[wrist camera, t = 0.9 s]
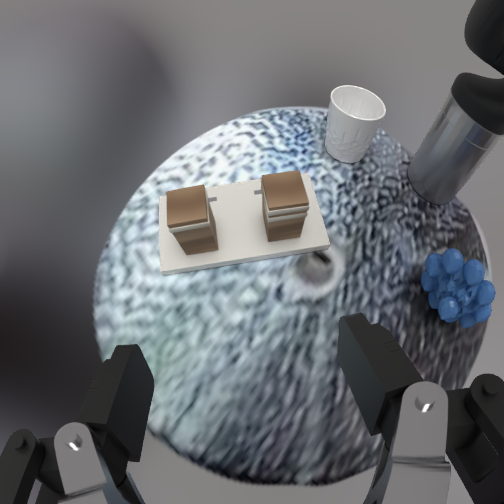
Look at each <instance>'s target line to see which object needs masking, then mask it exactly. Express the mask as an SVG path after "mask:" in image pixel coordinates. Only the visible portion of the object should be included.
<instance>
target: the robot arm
mask: <svg viewBox="0 0 504 504" xmlns="http://www.w3.org/2000/svg"><path fill="white" fill-rule="evenodd" d="M465 41H466V44H467V45H468V47H469V48H470V50H471V51H472V52H473V53H474V54H476V55H477V56H478V57H479V58H480V59H482V60H483V61H485V62H486V63H487V64H489V65H490V66H492V67H493V68H494V69H496V70H497V71H499V72H500V73H501V74H503V75H504V0H476V2H475V3H474V5H473V7H472V8H471V11H470V13H469V15H468V18H467V21H466V24H465ZM503 136H504V78H502V79H492V78H486V77H482V76H479V75H476V74H472V73H461V74H459V75H458V76H457V78H456V79H455V81H454V83H453V85H452V87H451V89H450V91H449V93H448V96H447V97H446V99H445V101H444V103H443V105H442V107H441V110H440V111H439V113H438V115H437V117H436V119H435V121H434V122H433V124H432V126H431V128H430V130H429V131H428V133H427V135H426V137H425V139H424V140H423V142H422V144H421V146H420V147H419V149H418V151H417V152H416V154H415V156H414V157H413V159H412V161H411V162H410V164H409V166H408V178H409V181H410V183H411V185H412V186H413V188H414V189H415V191H416V192H417V193H418V194H419V195H420V196H421V197H423V198H424V199H425V200H427V201H429V202H431V203H433V204H437V205H443V204H446V203H448V202H449V201H450V200H451V199H452V198H453V197H454V196H455V195H456V194H457V192H458V191H459V190H460V189H461V188H462V187H463V186H464V185H465V183H466V182H467V181H468V180H469V179H470V178H471V176H472V175H473V174H474V173H475V172H476V170H477V169H478V168H479V167H480V165H481V164H482V163H483V162H484V161H485V159H486V158H487V157H488V155H489V154H490V153H491V152H492V151H493V149H494V148H495V147H496V145H497V144H498V143H499V141H500V140H501V138H502V137H503ZM338 359H339V363H340V366H341V368H342V370H343V373H344V375H345V377H346V379H347V382H348V384H349V386H350V388H351V391H352V393H353V395H354V398H355V400H356V402H357V405H358V407H359V409H360V412H361V414H362V416H363V419H364V421H365V423H366V426H367V428H368V430H369V433H370V435H371V436H373V435H376V434H379V433H382V436H383V438H384V442H383V445H382V449H381V453H380V457H379V460H378V464H377V467H376V471H375V474H374V477H373V481H372V484H371V487H370V490H369V492H368V495H367V497H366V499H365V501H364V503H363V504H446V500H447V495H448V490H449V484H450V476H451V465H450V463H449V462H446V461H445V453H446V454H447V456H448V458H449V459H450V461H451V463H452V464H453V466H454V468H455V470H456V471H457V473H458V475H459V477H460V478H461V480H462V482H463V484H464V486H465V488H466V489H467V491H468V493H469V495H470V497H471V498H472V500H473V502H474V504H504V381H503V380H502V379H501V378H499V377H498V376H496V375H493V374H482V375H479V376H477V377H476V378H475V379H474V380H473V382H472V384H471V386H470V388H464V389H457V390H450V391H444V389H443V388H442V387H440V386H439V385H437V384H435V383H432V382H425V381H424V380H423V379H422V377H421V376H420V374H419V373H418V371H417V370H416V368H415V367H414V365H413V364H412V362H411V361H410V360H409V358H408V357H407V355H406V354H405V352H404V351H402V348H401V347H400V345H399V344H398V343H396V340H395V338H394V337H393V336H392V334H391V333H390V331H389V330H387V329H386V328H384V327H382V326H381V325H379V324H378V323H377V324H373V325H370V323H369V322H368V320H367V319H366V317H365V316H364V315H363V314H362V313H357V314H352V315H348V316H343V317H341V318H340V320H339V336H338ZM153 392H154V379H153V375H152V373H151V370H150V368H149V366H148V364H147V362H146V360H145V358H144V356H143V353H142V351H141V349H140V347H139V346H138V345H137V344H131V345H117V346H116V348H115V350H114V352H113V354H112V356H111V359H106V360H105V361H104V363H103V364H102V365H101V366H100V367H99V368H98V369H97V371H96V374H95V376H94V378H93V382H92V383H91V385H90V390H89V391H88V392H87V395H86V397H85V399H84V402H83V404H82V407H81V410H80V412H79V415H78V417H77V420H76V422H74V423H69V424H67V425H65V426H63V427H62V428H61V429H60V430H59V431H58V433H57V434H56V436H55V437H51V438H43V439H38V438H37V437H36V436H35V435H34V434H33V433H32V432H31V431H29V430H27V429H20V430H18V431H16V432H14V433H13V434H12V435H11V436H10V438H9V439H8V442H7V443H6V446H5V448H4V450H3V452H2V454H1V456H0V504H27V502H28V499H29V496H30V492H31V490H32V487H33V484H34V481H35V479H37V480H38V481H40V482H41V483H42V485H41V488H40V491H39V494H38V497H37V500H36V503H35V504H145V502H144V500H143V499H142V497H141V495H140V493H139V491H138V489H137V487H136V485H135V483H134V481H133V479H132V477H131V475H130V473H129V471H128V470H127V469H126V468H127V463H128V461H131V462H139V461H140V457H141V451H142V446H143V440H144V435H145V430H146V425H147V420H148V415H149V410H150V406H151V401H152V397H153ZM484 434H485V435H484ZM486 437H487V438H488V439H487V438H486ZM489 441H490V442H489ZM491 444H492V445H491ZM493 447H494V448H493ZM495 450H496V451H495ZM497 453H498V454H497Z"/></svg>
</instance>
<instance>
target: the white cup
mask: <svg viewBox="0 0 504 504" xmlns="http://www.w3.org/2000/svg"><path fill="white" fill-rule="evenodd" d="M385 113H386V108H385V105H384V104H383V102H382V101H381V99H380V98H379V97H377V96H376V95H375V94H374V93H372V92H370V91H368V90H366V89H363V88H361V87H357V86H349V85H345V86H339V87H337V88H335V89H334V90H333V91H332V93H331V98H330V105H329V111H328V118H327V127H326V139H325V147H326V150H327V152H328V153H329V154H330V155H331V156H332V157H333V158H335V159H337V160H339V161H341V162H345V163H355V162H359V161H360V160H361V159H362V158H363V157H364V156H365V154H366V151H367V149H368V148H369V146H370V144H371V142H372V140H373V138H374V137H375V135H376V132H377V130H378V128H379V126H380V124H381V122H382V119H383V117H384V115H385Z"/></svg>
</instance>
